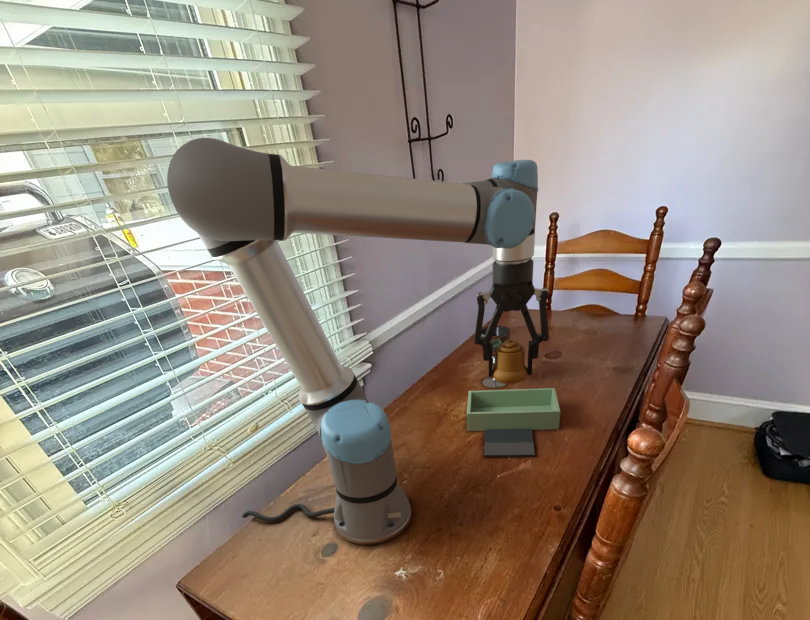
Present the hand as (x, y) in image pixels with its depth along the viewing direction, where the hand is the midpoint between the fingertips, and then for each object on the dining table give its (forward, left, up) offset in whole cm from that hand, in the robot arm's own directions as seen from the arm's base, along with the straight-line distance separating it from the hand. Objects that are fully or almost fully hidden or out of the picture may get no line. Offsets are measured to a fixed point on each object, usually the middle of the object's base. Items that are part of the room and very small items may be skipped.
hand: (509, 373), depth 102 cm
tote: (+1, +10, -17) cm, 19 cm away
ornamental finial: (0, 0, -1) cm, 1 cm away
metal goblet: (-3, +30, -17) cm, 35 cm away
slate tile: (0, -2, -17) cm, 17 cm away
